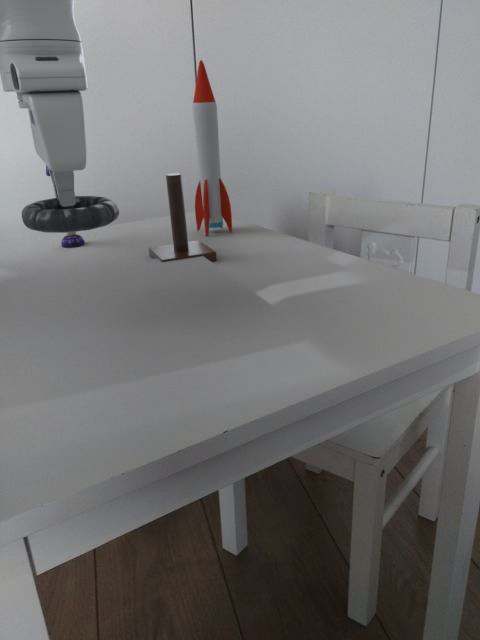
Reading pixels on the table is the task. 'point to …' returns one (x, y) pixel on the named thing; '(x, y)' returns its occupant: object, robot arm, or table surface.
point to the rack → (179, 229)
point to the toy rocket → (208, 159)
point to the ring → (70, 214)
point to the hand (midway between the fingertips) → (66, 202)
